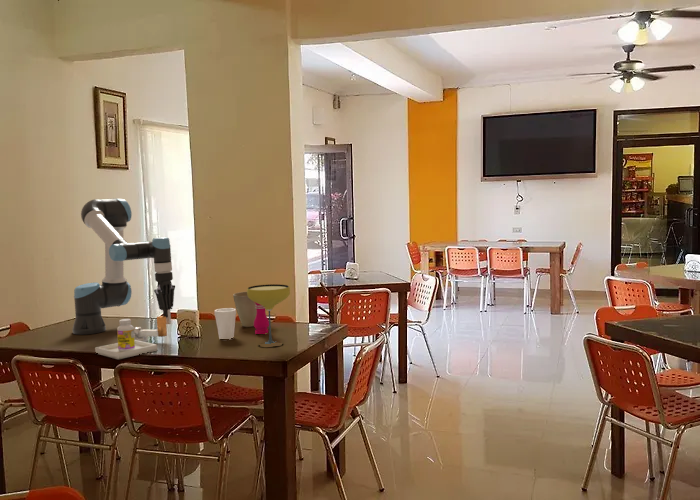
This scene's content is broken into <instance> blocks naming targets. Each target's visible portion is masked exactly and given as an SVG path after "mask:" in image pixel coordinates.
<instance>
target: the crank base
mask: <svg viewBox="0 0 700 500" xmlns="http://www.w3.org/2000/svg"><path fill="white" fill-rule="evenodd" d="M134 340H138V341H143V342H147V343H149V342H148V336H138V337H135V334H134Z"/></svg>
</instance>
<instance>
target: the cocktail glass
mask: <svg viewBox="0 0 700 500" xmlns="http://www.w3.org/2000/svg"><path fill="white" fill-rule="evenodd" d="M246 292H247V295H248V298H249V299H251V300H252V301H254V302H256V303H258V304H260V305H262V306H264V307H265V311H268V320H269V327H268V331H269V333H268V340H267V341H264V342H265V344H271V343H275V342H276V341H275V342H274V340H273V337H272V325H271V324H272V323H271V311H272V310H273V309H274V308H275V306H277V305H278V304H279V303H282V302H283V301H285V300H286V299H288V297H290V294H291V289H290V286H289V285H287V284H278V283H277V284H276V283H275V284H271V283H270V284H259V285H252V286H248V287H247V290H246Z"/></svg>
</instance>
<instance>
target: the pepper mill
mask: <svg viewBox="0 0 700 500" xmlns="http://www.w3.org/2000/svg"><path fill="white" fill-rule="evenodd" d="M255 304H256V305H255V306H256V307H255V308H256V310H257V314H256V318H255V320H254V326H253V327H254V328H255V329H254V335H256V334H265V333H268V332H269V317H268V316H267V314H266V309H265V307H264V306H262V305H260V304H258V303H256V302H255ZM268 334H269V333H268ZM265 335H266V334H265Z"/></svg>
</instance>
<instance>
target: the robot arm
mask: <svg viewBox="0 0 700 500" xmlns="http://www.w3.org/2000/svg"><path fill="white" fill-rule="evenodd" d="M132 215H133V213H132V209H131V206H130V204H129V203H128V201H127V200H126V199H123V198H116V197H115V198H94V199H91V200H88V202H86V203H85V204H84V205H83V206H82V208H81V211H80V216H81V221H82V222H83V224H85V226H86V227H87V228H90V229H92V230H93V231H94V233H95V234H96V235H97V236H98V238H100V240H101V241H102V242H104V255H105V256H104V260H105V261H104V264H105V265H104V266H105V267H104V269H105V271H104V273H105V275H104V278H103V279H102V280H101V284H100V282H90V283H89V282H88V283H84V284H80V285H78V286H76V287H75V288H74V291H73V292H74V294H73V298H74V311H75V319H74V321H73V322H74V323H73V326H72V334H73V335H81V336H82V335H94V334H95V335H96V334H99V333H103V332H105V331H106V330H107V326H106V323H105V321H104V318H103V315H102V309H106V308H113V307H121V306H125V305H127V304H128V303H129V302H130V300H131V298H132V294H133V293H132V287H131V284H130V283H129V282H128V280H127V279H126V277H125V276H124V262H125V261H132V260H144V259H153V266H154V272H155V273H154V280H155V282H156V283H157V288H156V289H154V290H153V291H154V294H155V297H156V300H157V305H158V309H159V310H160V311H162V314H163V315H162V316H166V325H171V324H172V321H171V319H172V318H171V315H172V314H171V310H172V309H173V307H174V299H175V288H176V285H175V284H174V285H173V284H172V280H174V277H173V272H172V271H173V266H172V264H173V263H172V253H171V252H172V251H171V247H172V246H171V244H170V243H171V241H170V238H169V237H167V236H165V237H164V236H163V237H161V236H159V237H154V238H153V239H152V240H151V241H150V240H148V241H142V242H141V241H139V242H128V241H127V240H125V238H124V230H125V229H126V228H127V226H128V224H127V223H129V222H130V221H131V220H132Z"/></svg>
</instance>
